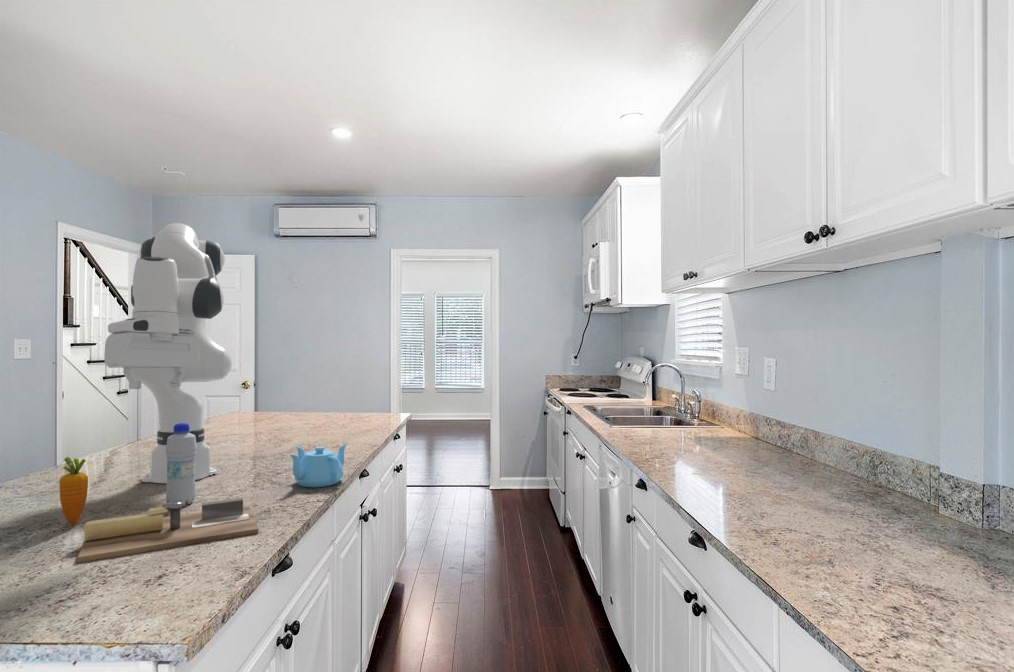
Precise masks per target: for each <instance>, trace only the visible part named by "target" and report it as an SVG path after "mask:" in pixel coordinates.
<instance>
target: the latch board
mask: <svg viewBox="0 0 1014 672" xmlns="http://www.w3.org/2000/svg"><path fill="white" fill-rule="evenodd" d="M169 512H170V516H166V517H163V529H161V530H154V531H147V532H141V533H134V534H127V535H120V536H113V537H107V538H100V539H93V540H86V541H84V543H83V545H82V547H81V549H80V552H79V553H78V555H77V563H85V561H86V562H91V560H92V561H97V560H96V559H98V560H103V558H104V559H110V558H115V556H116V557H121V556H128V555H134V554H140V553H146V552H151V550H153V551H158V549H159V550H164V548H165V549H169V548H170V547H171V548H177V547H183V546H189V545H188V544H190V545H196V544H200V543H201V542H202V543H206V542H215V541H220V540H225V539H230V538H231V539H232V538H237V537H244V536H250V535H257V534H259V531H260V530H259V529H260V528H259V525H258V524H257V522H256V519H255V517H254V514H253V512H252V509H251V506H250V505H245V506H244V499H243V497H238V498H231V499H223V500H215V501H209V502H208V501H206V502H202V504H201V512H196V513H188V514H181V509H178V510H169ZM195 543H196V544H195ZM171 548H170V549H171ZM109 557H110V558H109Z"/></svg>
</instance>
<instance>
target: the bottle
mask: <svg viewBox="0 0 1014 672" xmlns="http://www.w3.org/2000/svg"><path fill="white" fill-rule="evenodd" d="M188 432H189V425H188V424H187V423H179V424H176V425H175V426H174V433H175V434H173V435H171V436H169V437H168V439H167V445H166V457H167V483H166V488H165V489H166V490H165V502H166V503H168V502H171V501H177V500H184V501H186V504H185V505H190V504H191V503H192V502H193V501H195V498H196V480H195V455H196V453H197V452H196V450H197V445H196V437H195V435H193V434H191V433H188Z"/></svg>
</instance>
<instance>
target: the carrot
mask: <svg viewBox="0 0 1014 672" xmlns="http://www.w3.org/2000/svg"><path fill="white" fill-rule="evenodd" d="M64 461H65V463H66V464H67V466H63V470H65V471H67V472H69V473H67V474H63V475H62V476H61V477H60V478H59V481H58V482H59V499H60V500H59V501H60V505H61V510H62V513H63V515H64V518H65V520H66V521H67V523H68V525H70V526H72V527H74V526H76V524H77V523H78V522H79V520H80V519H81V517H82V514H83V512H84V511H85V510H84V509H85V506H86V502H87V496H88V486H89V484H88V483H89V476H88V475H87V474H86V473H84V472H83V471H82V472H80V471H81V469H82V467H83V465H84V464H85V462H86V459H85V458H82V459H81V460H79V458H73V460H72V459H71V458H70V457H69V456H67V457H65V458H64ZM73 461H74V462H73Z"/></svg>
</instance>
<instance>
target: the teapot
mask: <svg viewBox="0 0 1014 672" xmlns="http://www.w3.org/2000/svg"><path fill="white" fill-rule="evenodd" d="M348 444H349V443H348V442H346V443H343V444H342V445H340V447H339V448H338V453H337V454H336V453H335V452H334V451H332V450H325V447H324V446H316V447H314V450H313V451H307V452H306V453H305V451H304V449H303V447H302V446H301V445H296V444H295V445H294V446H295V448H296V450H297V453H298V455H296V454H290V453H289V456H290V457H291V458H292V462H293V463H292V474H293V476H294V480H295V481H296V482H297V484H298V485H299V486H301V487H304V488H324V487H328V486H333V485H336V484H338V483H339V482H340V481H341V479H342V478H343V476H344V469H343V466H344V463H345V449H346V446H347V445H348Z"/></svg>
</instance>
